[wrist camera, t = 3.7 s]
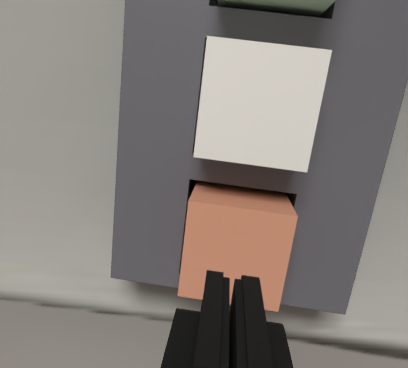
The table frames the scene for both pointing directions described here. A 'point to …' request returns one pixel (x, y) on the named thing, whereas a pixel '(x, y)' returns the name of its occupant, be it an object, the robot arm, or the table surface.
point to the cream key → (260, 102)
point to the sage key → (281, 6)
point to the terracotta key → (237, 238)
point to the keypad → (251, 174)
